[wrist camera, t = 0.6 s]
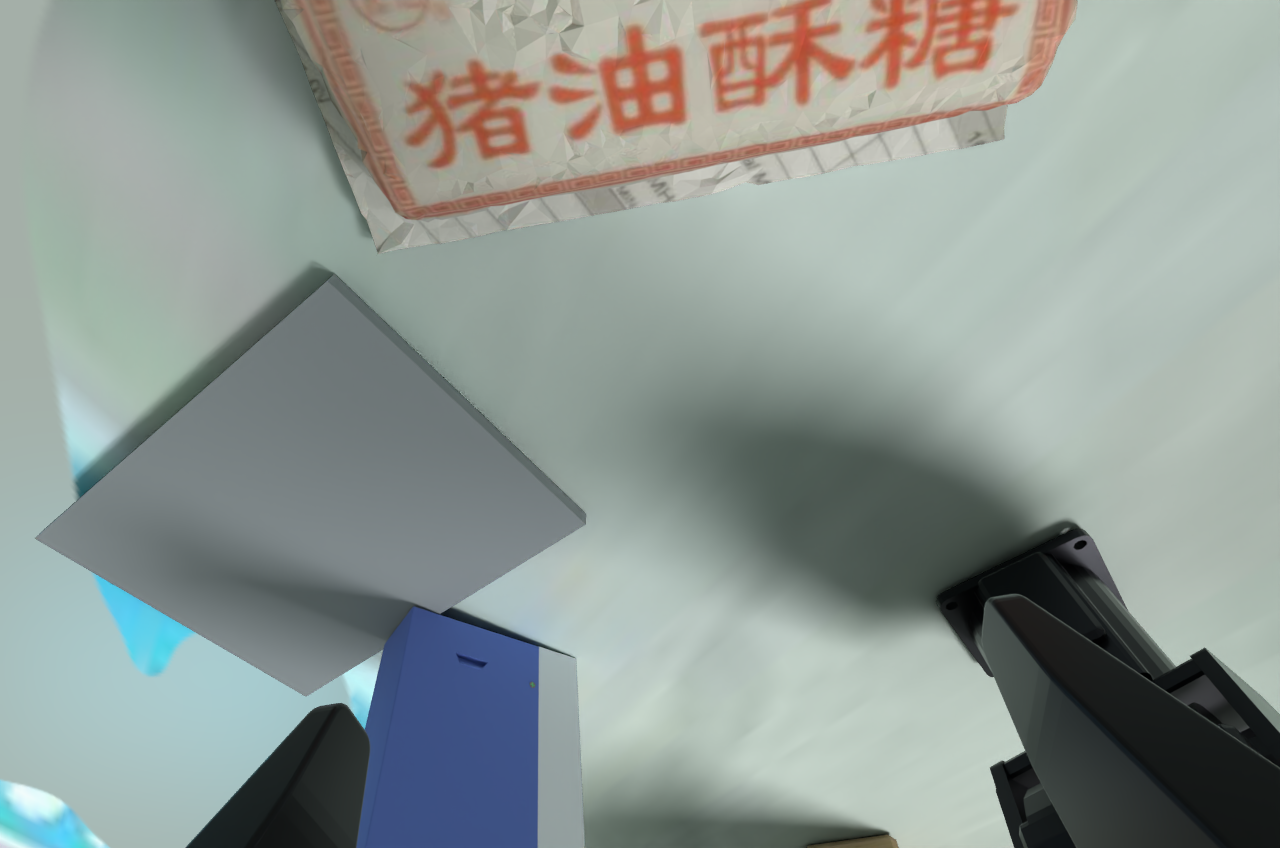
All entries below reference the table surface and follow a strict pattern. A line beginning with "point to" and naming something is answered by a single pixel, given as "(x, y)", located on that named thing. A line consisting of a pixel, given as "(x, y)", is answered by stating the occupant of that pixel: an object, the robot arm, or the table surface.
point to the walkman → (471, 742)
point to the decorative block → (861, 843)
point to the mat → (315, 499)
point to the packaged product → (646, 97)
